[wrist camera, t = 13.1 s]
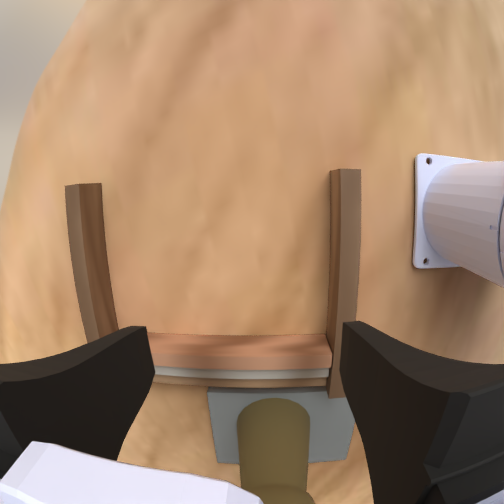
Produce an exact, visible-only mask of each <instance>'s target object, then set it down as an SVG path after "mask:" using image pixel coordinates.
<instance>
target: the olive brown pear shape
mask: <svg viewBox="0 0 504 504" xmlns="http://www.w3.org/2000/svg"><path fill="white" fill-rule="evenodd" d="M237 437H238V451H239V464H240V477H241V488H242V489H244V490H246V491H248V492H251V493H253V494H255V495H256V496H258V497H259V498H260V499H261V501H262V502H263V504H315V502H314V500H313V498H312V497H311V496H310V495H309V493H307V492H306V486H307V473H308V458H309V441H310V416H309V414H308V412H307V411H306V409H305V408H304V407H302V406H301V405H300V404H299V403H296V402H294V401H291V400H289V399H283V398H266V399H261V400H258V401H255V402H252V403H251V404H249V405H248V406H246V407H245V408H244V409H243V410H242V411H241V413H240V414H239V415H238V419H237Z"/></svg>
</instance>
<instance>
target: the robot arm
mask: <svg viewBox="0 0 504 504" xmlns="http://www.w3.org/2000/svg"><path fill="white" fill-rule="evenodd" d="M427 158H428V159H429V161H430V163H429V165H428V164H427V163H426V159H427ZM425 258H427V262H426V263H425V264H423V261H424V259H425ZM413 265H414V266H415V267H416V268H419V269H423V268H445V267H463V268H465V269H467V270H469V271H471V272H473V273H475V274H477V275H479V276H481V277H483V278H485V279H487V280H489V281H491V282H493V283H495V284H497V285H499V286H501V287H503V288H504V161H492V162H483V161H477V160H470V159H464V158H457V157H449V156H441V155H433V154H424V153H422V154H418V155H416V157H415V230H414V248H413ZM339 371H340V376H341V381H342V385H343V390H344V393H345V396H346V398H347V401H348V404H349V406H350V409H351V411H352V414H353V417H354V419H355V422H356V425H357V427H358V430H359V432H360V435H361V438H362V442H363V445H364V449H365V454H366V459H367V463H368V468H369V474H370V479H371V485H372V492H373V499H374V504H504V364H481V363H471V362H464V361H459V360H454V359H449V358H445V357H441V356H437V355H434V354H431V353H428V352H425V351H422V350H419V349H416V348H414V347H412V346H409V345H407V344H405V343H403V342H400V341H398V340H396V339H394V338H392V337H390V336H388V335H387V334H385V333H383V332H381V331H379V330H377V329H375V328H373V327H372V326H370V325H368V324H366V323H364V322H361V321H351V322H343V327H342V342H341V355H340V367H339ZM154 375H155V368H154V363H153V359H152V354H151V349H150V345H149V340H148V335H147V329H146V326H130V327H126V328H123V329H120V330H118V331H115V332H113V333H111V334H108V335H106V336H104V337H102V338H99V339H97V340H95V341H92V342H90V343H88V344H85V345H82V346H80V347H77V348H75V349H72V350H70V351H67V352H64V353H61V354H57V355H54V356H50V357H46V358H42V359H37V360H31V361H26V362H19V363H10V364H0V504H263V502H262V501H261V499H260V498H259V497H258V496H256V495H255V494H253V493H251V492H248V491H246V490H244V489H242V488H240V487H238V486H236V485H234V484H232V483H230V482H228V481H226V480H220V479H215V478H210V477H206V476H201V475H197V474H192V473H185V472H177V471H169V470H162V469H156V468H149V467H144V466H138V465H133V464H128V463H123V462H119V461H117V458H118V455H119V452H120V449H121V447H122V444H123V441H124V439H125V437H126V435H127V432H128V431H129V429H130V427H131V425H132V423H133V421H134V419H135V417H136V416H137V414H138V412H139V410H140V408H141V406H142V404H143V402H144V400H145V399H146V397H147V395H148V393H149V390H150V387H151V385H152V382H153V378H154Z"/></svg>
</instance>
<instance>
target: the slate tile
mask: <svg viewBox="0 0 504 504" xmlns="http://www.w3.org/2000/svg"><path fill="white" fill-rule="evenodd" d="M207 396H208V404H209V411H210V418H211V425H212V431H213V438H214V444H215V450H216V456H217V462H218V463H232V464H239V451H238V437H237V419H238V415H239V414H240V413H241V411H242V410H243V409H244V408H245V407H246V406H248V405H249V404H251V403H252V402H255V401H258V400H261V399H266V398H283V399H289V400H291V401H294V402H296V403H299V404H300V405H301V406H302V407H304V408H305V409H306V411H307V412H308V414H309V416H310V441H309V458H308V463H314V462H326V461H336V460H345V459H346V457H347V453H348V449H349V445H350V441H351V437H352V433H353V428H354V424H355V419H354V417H353V414H352V411H351V409H350V406H349V404H348V401H347V398H346V397H345V398H333V399H329V398H328V394H327V390H326V386H308V387H278V388H240V387H210V386H209V387H208V390H207Z"/></svg>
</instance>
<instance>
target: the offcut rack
mask: <svg viewBox="0 0 504 504" xmlns="http://www.w3.org/2000/svg"><path fill="white" fill-rule="evenodd" d="M65 198H66V213H67V225H68V235H69V244H70V252H71V260H72V267H73V273H74V280H75V286H76V291H77V297H78V302H79V307H80V312H81V317H82V321H83V326H84V330H85V334H86V338H87V343H90V342H92V341H95V340H97V339H99V338H102V337H104V336H106V335H108V334H111V333H113V332H115V331H118V330H119V329H118V324H117V319H116V314H115V308H114V302H113V296H112V290H111V283H110V276H109V268H108V261H107V252H106V243H105V233H104V221H103V208H102V190H101V183H92V184H75V185H68V186H65ZM330 206H331V221H330V272H329V297H328V315H327V331H326V335H325V334H311V335H274V336H221V335H185V334H164V333H147V335H148V340H149V345H150V349H151V354H152V359H153V363H154V368H155V375H154V378H153V382H158V383H169V384H181V385H195V386H213V387H252V388H266V387H304V386H323V385H325V386H326V390H327V394H328V398H329V399H333V398H345V397H346V396H345V393H344V390H343V385H342V381H341V376H340V371H339V367H340V355H341V342H342V327H343V322H351V321H355V320H356V309H357V297H358V283H359V266H360V243H361V169H337V170H333V171H330Z"/></svg>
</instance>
